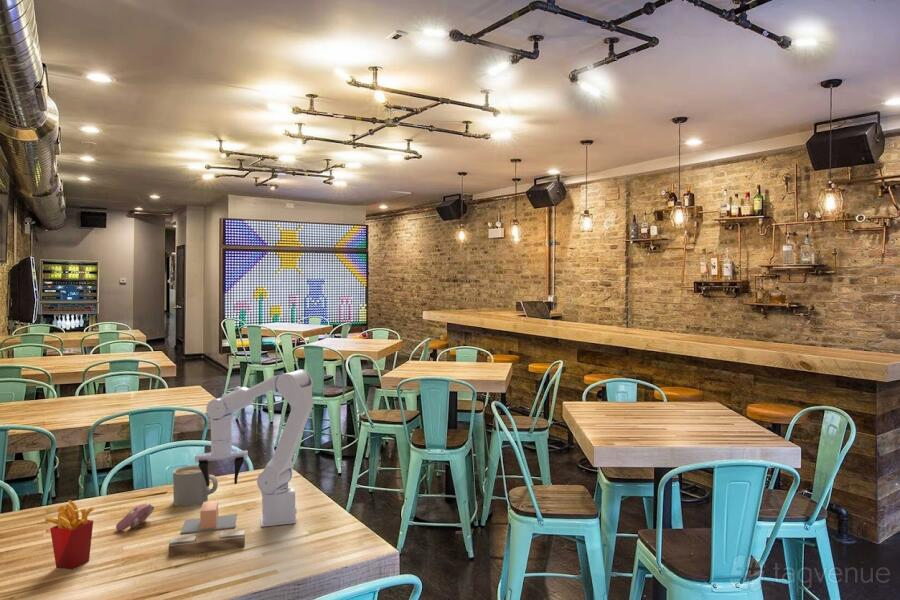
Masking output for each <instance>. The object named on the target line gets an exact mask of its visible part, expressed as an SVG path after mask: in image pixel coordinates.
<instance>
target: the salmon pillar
mask: <svg viewBox="0 0 900 600" xmlns="http://www.w3.org/2000/svg"><path fill="white" fill-rule="evenodd" d="M218 516H219V500H209V501H208V500H207V501H206V502H203V503H202V505H201V508H200V515H199V518H200V521H201V529H209V528H216V526H217V521H218Z"/></svg>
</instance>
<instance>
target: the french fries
mask: <svg viewBox="0 0 900 600" xmlns="http://www.w3.org/2000/svg"><path fill="white" fill-rule="evenodd" d="M94 510H95V507H90V508H89V509H87V510H86V508H81V509H80V513H81V518H80V514H79V509H78V507H77V505H76V504H75V503H74V502H73V501H72V500H71V499H70V500H68V502H67V503H66V504H65V505H63V506H62V505H60V506H59V508H57V509H56V511H57V518H53V517H48V516H47V517H46V518H45V521H44V522H47V523H51V524H55V525H54V526H52V527H50V536H51V543H52V546H53V547H52V548H53V555H54V563H55V568H56V569H64V570H72V571H73V570H75V569H77V568H78V567H81V566H83V565H84V564H86V563H88V562H90V557H91V546H92V536H93V528H94V527H93V526H94V520H92V519H91V520H90V519H88V516H89V515H90V513H92V512H93V511H94Z"/></svg>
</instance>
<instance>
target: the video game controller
mask: <svg viewBox="0 0 900 600" xmlns="http://www.w3.org/2000/svg"><path fill="white" fill-rule="evenodd" d="M154 509H155V507H154V505H151V504H150V503H147V502H145V503H144V504H143V503H142V504H138V505H136V506H135V507H134V508H133V509H132V510H130V511H129V512H128V513H127V514H126V515H125V516H124V517H123V518H122V519H121V520H120V521H118V523H116V525H115V528H116V531H118V532H122V531H124V530H126V529H128V528H129V527H130V528H131V529H134V528H137V525H138V524H143V523H144V522H145V521H146V520H147V518H148V517H150V515H151V514H152V513H153V511H154Z"/></svg>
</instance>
